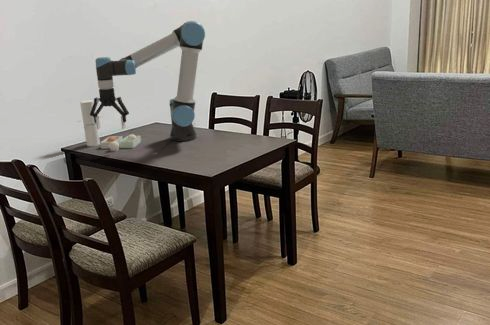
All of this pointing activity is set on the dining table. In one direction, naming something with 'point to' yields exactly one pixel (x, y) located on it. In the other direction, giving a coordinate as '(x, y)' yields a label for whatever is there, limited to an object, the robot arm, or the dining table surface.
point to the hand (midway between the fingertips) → (111, 128)
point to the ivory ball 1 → (114, 145)
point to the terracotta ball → (111, 139)
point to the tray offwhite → (106, 144)
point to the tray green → (130, 144)
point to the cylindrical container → (89, 124)
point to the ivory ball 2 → (131, 137)
